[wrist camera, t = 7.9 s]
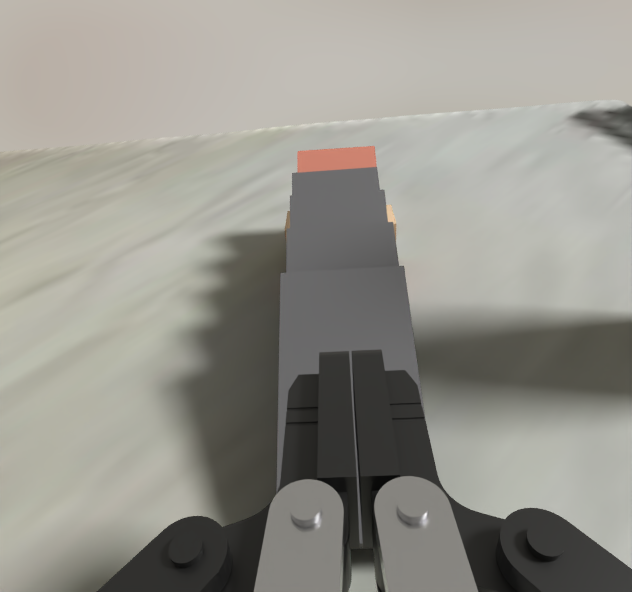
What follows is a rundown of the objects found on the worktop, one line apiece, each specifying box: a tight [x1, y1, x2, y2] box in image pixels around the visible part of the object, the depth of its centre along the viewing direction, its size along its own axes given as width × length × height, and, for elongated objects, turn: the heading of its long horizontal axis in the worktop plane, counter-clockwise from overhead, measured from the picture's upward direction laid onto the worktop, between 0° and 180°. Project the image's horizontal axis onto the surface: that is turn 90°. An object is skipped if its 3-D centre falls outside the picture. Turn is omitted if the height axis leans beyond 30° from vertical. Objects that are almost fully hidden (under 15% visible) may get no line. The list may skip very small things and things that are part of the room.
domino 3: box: [290, 190, 388, 228], centre depth 25 cm, size 5×2×10 cm
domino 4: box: [292, 167, 380, 196], centre depth 28 cm, size 5×2×10 cm
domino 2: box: [286, 222, 399, 273], centre depth 22 cm, size 5×2×10 cm
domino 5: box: [298, 146, 377, 173], centre depth 31 cm, size 5×2×10 cm
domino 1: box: [276, 266, 425, 548], centre depth 18 cm, size 5×2×10 cm
